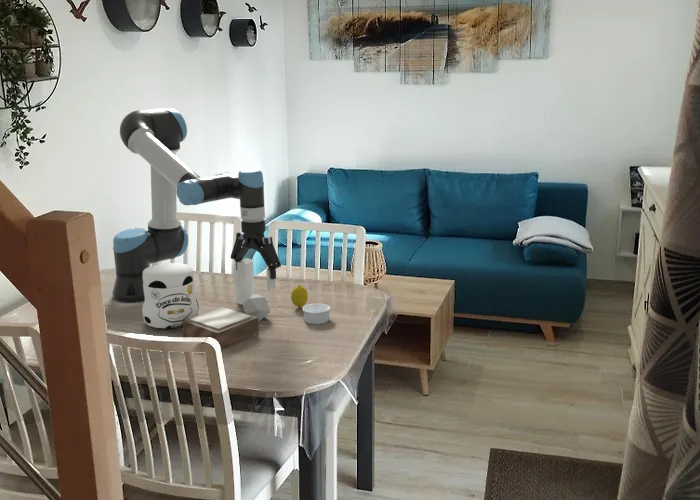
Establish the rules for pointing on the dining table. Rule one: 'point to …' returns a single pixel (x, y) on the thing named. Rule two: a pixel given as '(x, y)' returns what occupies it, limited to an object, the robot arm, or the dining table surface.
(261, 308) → the die
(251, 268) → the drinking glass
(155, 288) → the milk container
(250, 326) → the plinth
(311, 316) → the ramekin
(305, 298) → the lemon
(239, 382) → the dining table surface
